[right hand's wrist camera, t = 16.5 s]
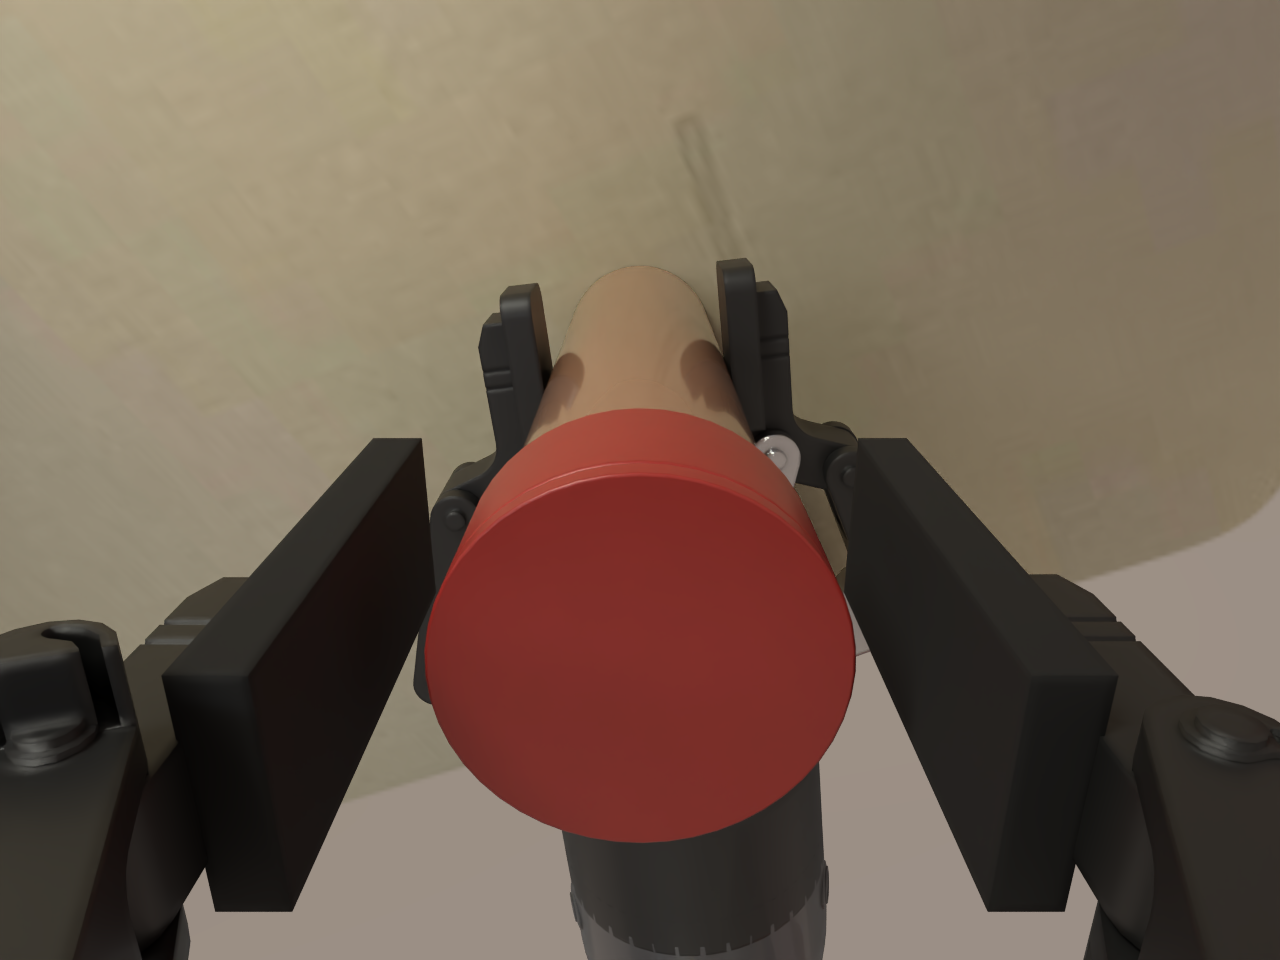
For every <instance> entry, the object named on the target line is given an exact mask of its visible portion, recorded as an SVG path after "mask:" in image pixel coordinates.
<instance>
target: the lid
mask: <svg viewBox="0 0 1280 960" xmlns="http://www.w3.org/2000/svg"><path fill="white" fill-rule="evenodd" d="M855 672H856V644H855V637H854V629H853V623H852V619H851V616H850V613H849V609H848V606H847V603H846V599H845V597H844V595H843V592H842V590H841V588H840V586H839V584H838V581H837V579H836V577H835V574H834V572H833V570H832V568H831V566H830V563H829V561H828V559H827V557H826V554H825V552H824V550H823V548H822V545H821V543H820V541H819V539H818V537H817V534H816V532H815V530H814V528H813V525H812V523H811V521H810V519H809V516H808V514H807V512H806V510H805V508H804V506H803V504H802V502H801V499H800V497H799V495H798V494H797V492H796V491H795V489H794V488H793V486H792V485H791V483H790V482H789V480H788V479H787V477H786V476H785V475H784V474H783V473H782V471H781V470H780V469H779V468H778V467H777V466H776V465H775V464H774V462H773V461H772V460H771V459H770V458H768V457H767V456H766V455H765V454H764V453H763V452H761V451H760V450H759V449H758V448H757V447H755V446H754V445H753V444H752V443H750V442H748V441H747V440H745V439H744V438H742V437H741V436H739V435H737V434H736V433H734V432H733V431H731V430H728V429H726V428H724V427H722V426H720V425H718V424H716V423H713V422H711V421H708V420H705V419H702V418H699V417H696V416H692V415H689V414H685V413H679V412H674V411H669V410H662V409H644V408H635V409H621V410H611V411H606V412H601V413H596V414H591V415H588V416H585V417H582V418H579V419H576V420H573V421H570V422H567V423H565V424H563V425H561V426H559V427H556V428H554V429H552V430H550V431H548V432H546V433H544V434H543V435H541V436H540V437H538V438H537V439H535V440H534V441H532V442H531V443H529V444H528V445H526V446H525V447H524V448H523V449H521V450H520V451H519V452H518V453H517V454H516V455H515V456H513V457H512V458H511V459H510V460H509V461H508V462H507V463H506V464H505V465H504V466H503V468H502V469H501V470H500V471H499V472H498V473H497V475H496V476H495V477H494V478H493V479H492V481H491V482H490V484H489V486H488V487H487V489H486V490H485V492H484V493H483V495H482V496H481V498H480V500H479V503H478V505H477V507H476V509H475V511H474V514H473V516H472V518H471V520H470V523H469V525H468V527H467V529H466V532H465V534H464V536H463V538H462V541H461V543H460V545H459V547H458V550H457V552H456V554H455V556H454V558H453V561H452V563H451V565H450V567H449V570H448V572H447V574H446V576H445V579H444V581H443V583H442V585H441V588H440V590H439V592H438V594H437V597H436V599H435V601H434V604H433V608H432V611H431V615H430V619H429V622H428V626H427V634H426V642H425V675H426V680H427V686H428V691H429V696H430V700H431V703H432V706H433V709H434V712H435V714H436V717H437V720H438V723H439V725H440V727H441V729H442V731H443V733H444V734H445V736H446V738H447V740H448V742H449V744H450V745H451V747H452V748H453V750H454V751H455V753H456V754H457V755H458V757H459V758H460V760H461V761H462V762H463V764H464V765H465V766H466V767H467V768H468V769H469V770H470V771H471V772H472V774H473V775H474V776H475V777H476V778H477V779H478V780H479V781H480V782H481V783H482V784H483V785H485V786H486V787H487V788H488V789H489V790H490V791H492V792H493V793H494V794H495V795H496V796H498V797H499V798H500V799H502V800H503V801H505V802H506V803H508V804H509V805H511V806H512V807H514V808H515V809H517V810H518V811H520V812H522V813H524V814H526V815H528V816H530V817H532V818H534V819H536V820H538V821H540V822H542V823H544V824H547V825H550V826H552V827H555V828H558V829H560V830H563V831H566V832H569V833H573V834H577V835H581V836H585V837H589V838H594V839H601V840H607V841H614V842H631V843H650V842H668V841H674V840H680V839H686V838H692V837H696V836H700V835H704V834H707V833H711V832H715V831H718V830H721V829H723V828H726V827H728V826H731V825H733V824H736V823H739V822H741V821H743V820H745V819H747V818H749V817H751V816H753V815H755V814H756V813H758V812H760V811H762V810H764V809H766V808H767V807H768V806H770V805H771V804H773V803H774V802H776V801H777V800H779V799H780V798H782V797H783V796H785V795H786V794H787V793H788V792H789V791H790V790H791V789H793V788H794V787H795V786H796V785H797V784H798V783H799V782H801V781H802V780H803V779H804V778H805V777H806V775H807V774H808V773H809V772H810V771H811V770H812V769H813V768H814V766H815V765H816V764H817V763H818V762H819V761H820V759H821V758H822V756H823V755H824V753H825V752H826V751H827V749H828V748H829V746H830V745H831V743H832V742H833V740H834V738H835V736H836V734H837V732H838V730H839V728H840V726H841V724H842V722H843V720H844V717H845V714H846V711H847V707H848V704H849V701H850V698H851V695H852V690H853V684H854V678H855Z"/></svg>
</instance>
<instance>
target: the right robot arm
mask: <svg viewBox="0 0 1280 960" xmlns="http://www.w3.org/2000/svg"><path fill="white" fill-rule="evenodd" d="M435 594H436V586H435V575H434V564H433V554H432V543H431V533H430V522H429V511H428V501H427V490H426V479H425V469H424V458H423V447H422V438H373V439H372V440H371V442H370V443H369V444H368V445H367V446H366V447H365V448H364V449H363V450H362V452H361V453H360V454H359V455H358V456H357V457H356V458H355V459H354V461H353V462H352V463H351V464H350V465H349V466H348V467H347V468H346V469H345V471H344V472H343V473H342V474H341V475H340V476H339V477H338V478H337V480H336V481H335V482H334V483H333V484H332V485H331V486H330V487H329V488H328V490H327V491H326V492H325V493H324V494H323V495H322V496H321V497H320V499H319V500H318V501H317V502H316V503H315V504H314V505H313V506H312V507H311V509H310V510H309V511H308V512H307V513H306V514H305V515H304V516H303V518H302V519H301V520H300V521H299V522H298V523H297V524H296V525H295V526H294V528H293V529H292V530H291V531H290V532H289V533H288V534H287V535H286V537H285V538H284V539H283V540H282V541H281V542H280V543H279V544H278V545H277V547H276V548H275V549H274V550H273V551H272V552H271V553H270V554H269V556H268V557H267V558H266V559H265V560H264V561H263V562H262V563H261V564H260V566H259V567H258V568H257V569H256V570H255V571H254V572H253V573H252V575H251V576H250V577H223V578H221V579H219V580H218V581H216V582H214V583H212V584H210V585H209V586H207V587H205V588H203V589H201V590H199V591H198V592H196V593H194V594H192V595H190V596H189V597H187V598H186V599H185V600H184V601H183V602H182V603H181V604H180V605H179V606H178V607H177V608H176V609H175V610H174V611H173V612H172V613H171V614H170V615H169V616H168V617H167V618H166V619H165V620H164V622H165V623H164V625H159V626H158V627H157V628H156V629H155V630H154V631H153V632H152V633H151V634H150V635H149V636H148V637H147V638H146V639H145V645H139V646H138V647H137V648H136V649H135V650H134V651H133V652H132V654H131V655H130V656H129V657H128V658H127V659H126V660H125V661H124V662H123V659H122V654H121V650H120V646H119V642H118V638H117V634H116V632H115V631H114V630H112V629H111V628H109V627H108V626H106V625H105V624H103V623H98V622H92V621H85V620H67V621H53V622H46V623H41V624H37V625H32V626H28V627H23V628H19V629H14V630H12V631H9V632H6V633H4V634H1V635H0V960H188V956H189V948H190V936H189V929H188V923H187V919H186V915H185V911H184V907H183V903H184V901H185V899H186V898H187V896H188V895H189V893H190V891H191V890H192V888H193V886H194V885H195V883H196V881H197V880H198V878H199V876H200V875H201V873H202V871H203V870H204V868H205V869H206V873H207V878H208V882H209V886H210V891H211V895H212V899H213V904H214V908H215V912H292V911H293V909H294V907H295V904H296V902H297V900H298V898H299V895H300V893H301V891H302V889H303V887H304V884H305V882H306V880H307V878H308V876H309V873H310V871H311V869H312V867H313V864H314V862H315V860H316V858H317V856H318V853H319V851H320V849H321V847H322V845H323V842H324V840H325V838H326V836H327V833H328V831H329V829H330V827H331V825H332V822H333V820H334V818H335V816H336V813H337V811H338V809H339V807H340V805H341V802H342V800H343V798H344V796H345V793H346V791H347V789H348V787H349V785H350V782H351V780H352V778H353V776H354V774H355V771H356V769H357V767H358V765H359V762H360V760H361V758H362V756H363V754H364V751H365V749H366V747H367V745H368V742H369V740H370V738H371V736H372V734H373V731H374V729H375V727H376V725H377V723H378V720H379V718H380V716H381V714H382V711H383V709H384V707H385V705H386V703H387V700H388V698H389V696H390V694H391V691H392V689H393V687H394V685H395V683H396V680H397V678H398V676H399V674H400V671H401V669H402V667H403V665H404V663H405V660H406V658H407V656H408V654H409V652H410V649H411V647H412V645H413V643H414V640H415V638H416V636H417V634H418V632H419V629H420V627H421V625H422V623H423V620H424V618H425V616H426V614H427V612H428V609H429V607H430V605H431V603H432V601H433V598H434V596H435ZM844 594H845V596H846V598H847V601H848V603H849V605H850V607H851V609H852V612H853V614H854V616H855V618H856V621H857V623H858V625H859V627H860V629H861V632H862V634H863V636H864V638H865V640H866V643H867V645H868V647H869V649H870V652H871V654H872V656H873V658H874V660H875V663H876V665H877V667H878V669H879V672H880V674H881V676H882V678H883V680H884V683H885V685H886V687H887V689H888V691H889V694H890V696H891V698H892V700H893V703H894V705H895V707H896V709H897V711H898V714H899V716H900V718H901V720H902V723H903V725H904V727H905V729H906V731H907V733H908V736H909V738H910V740H911V742H912V745H913V747H914V749H915V751H916V754H917V756H918V758H919V760H920V762H921V765H922V767H923V769H924V771H925V774H926V776H927V778H928V780H929V782H930V785H931V787H932V789H933V791H934V794H935V796H936V798H937V800H938V802H939V805H940V807H941V809H942V811H943V813H944V816H945V818H946V820H947V822H948V824H949V827H950V829H951V831H952V833H953V836H954V838H955V840H956V842H957V844H958V847H959V849H960V851H961V853H962V856H963V858H964V860H965V862H966V864H967V867H968V869H969V871H970V873H971V876H972V878H973V880H974V882H975V884H976V887H977V889H978V891H979V893H980V895H981V898H982V900H983V902H984V904H985V907H986V909H987V911H988V912H1064V911H1065V908H1066V903H1067V899H1068V895H1069V891H1070V886H1071V882H1072V878H1073V873H1074V869H1075V864H1076V865H1077V867H1078V868H1079V870H1080V872H1081V873H1082V875H1083V877H1084V878H1085V880H1086V882H1087V883H1088V885H1089V887H1090V888H1091V890H1092V892H1093V893H1094V895H1095V897H1096V898H1097V900H1098V903H1097V907H1096V911H1095V915H1094V919H1093V923H1092V927H1091V931H1090V935H1089V939H1088V943H1087V947H1086V951H1085V956H1084V960H1280V723H1279V722H1278V721H1276V720H1275V719H1272V718H1270V717H1268V716H1266V715H1263V714H1261V713H1259V712H1256V711H1254V710H1252V709H1250V708H1247V707H1245V706H1242V705H1239V704H1235V703H1231V702H1227V701H1223V700H1220V699H1216V698H1212V697H1202V696H1195V695H1194V694H1193V693H1191V691H1189V689H1188V688H1187V687H1186V686H1185V685H1184V684H1183V683H1182V682H1181V681H1180V680H1179V679H1178V678H1177V677H1176V676H1175V675H1174V674H1173V673H1172V672H1171V671H1170V670H1169V669H1168V668H1167V667H1166V666H1165V665H1164V664H1163V663H1162V662H1161V661H1160V660H1159V659H1158V658H1157V657H1156V656H1155V655H1154V654H1153V653H1152V652H1151V651H1150V650H1149V649H1148V648H1147V647H1146V646H1145V645H1144V644H1143V643H1142V642H1141V641H1136V640H1135V635H1134V634H1133V633H1132V632H1131V631H1130V630H1129V629H1128V628H1127V627H1126V626H1125V625H1124V624H1123V623H1122V622H1117V621H1116V616H1115V615H1114V614H1113V613H1112V612H1111V611H1110V610H1109V609H1108V608H1107V607H1106V606H1105V605H1104V604H1103V603H1102V602H1101V601H1100V600H1099V599H1098V598H1097V597H1096V596H1095V595H1094V594H1092V593H1090V592H1088V591H1087V590H1085V589H1083V588H1081V587H1079V586H1077V585H1076V584H1074V583H1072V582H1070V581H1068V580H1066V579H1065V578H1063V577H1061V576H1059V575H1057V574H1028V573H1027V572H1026V571H1025V570H1024V569H1023V568H1022V567H1021V566H1020V565H1019V563H1018V562H1017V561H1016V560H1015V559H1014V558H1013V557H1012V556H1011V554H1010V553H1009V552H1008V551H1007V550H1006V549H1005V548H1004V547H1003V546H1002V544H1001V543H1000V542H999V541H998V540H997V539H996V538H995V537H994V535H993V534H992V533H991V532H990V531H989V530H988V529H987V528H986V527H985V525H984V524H983V523H982V522H981V521H980V520H979V519H978V518H977V516H976V515H975V514H974V513H973V512H972V511H971V510H970V509H969V508H968V506H967V505H966V504H965V503H964V502H963V501H962V500H961V499H960V497H959V496H958V495H957V494H956V493H955V492H954V491H953V490H952V489H951V487H950V486H949V485H948V484H947V483H946V482H945V481H944V480H943V478H942V477H941V476H940V475H939V474H938V473H937V472H936V471H935V470H934V468H933V467H932V466H931V465H930V464H929V463H928V462H927V461H926V459H925V458H924V457H923V456H922V455H921V454H920V453H919V452H918V450H917V449H916V448H915V447H914V446H913V445H912V444H911V443H910V442H909V440H908V439H907V438H858V447H857V458H856V468H855V479H854V490H853V500H852V511H851V522H850V532H849V543H848V554H847V564H846V575H845V586H844Z"/></svg>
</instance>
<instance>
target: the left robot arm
mask: <svg viewBox="0 0 1280 960" xmlns="http://www.w3.org/2000/svg"><path fill="white" fill-rule="evenodd" d="M716 268H717V284H718V296H719V309H720V321H721V333H722V346H723V358H724V362H725V364H726V367H727V369H728V372H729V375H730V377H731V380H732V382H733V385H734V388H735V390H736V393H737V396H738V398H739V401H740V403H741V406H742V409H743V411H744V414H745V417H746V419H747V422H748V424H749V427H750V430H751V432H752V435H753V437H754V440H755V443H756V445H757V448H758V449H759V450H760V451H761V452H763V453H764V454H765V455H766V456H767V457H768V458H770V459H771V460H772V461H773V462H774V464H775V465H776V466H777V467H778V468H779V469H780V470H781V471H782V473H783V474H784V475H785V476H786V477H787V479H788V480H789V482H790V483H791V485H792V486H793V488H794V484H795V483H799V484H803V485H808V486H812V487H817V488H821V489H824V491H825V494H826V496H827V499H828V502H829V504H830V507H831V509H832V512H833V515H834V517H835V520H836V522H837V525H838V528H839V530H840V533H841V536H842V538H843V541H844V543H845V546H846V549H847V551H848V543H849V532H850V522H851V511H852V500H853V490H854V479H855V468H856V458H857V447H858V441H857V439H856V437H855V435H854V434H853V432H852V431H851V430H850V428H849V427H847V426H846V425H845V424H843V423H840V422H835V421H831V422H826V423H823V424H818V423H814V422H810V421H806V420H803V419H800V418H798V417H796V416H795V415H794V414H793V410H792V392H791V373H790V356H789V339H788V317H787V310H786V308H785V306H784V304H783V302H782V300H781V297H780V295H779V293H778V291H777V290H776V288H775V287H774V286H773V285H772V284H771V283H770V282H769V281H762V282H756V280H755V273H754V268H753V265H752V264H751V263H750V262H749V261H748V260H747V258H741V259H732V260H723V261H717V264H716ZM478 349H479V354H480V359H481V365H482V370H483V376H484V381H485V387H486V390H487V391H486V392H487V397H488V403H489V408H490V414H491V419H492V425H493V430H494V435H495V441H496V451H495V452H494V453H493V454H491V455H490V456H488V457H486V458H484V459H482V460H479V461H477V462H467V463H463V464H461V465H460V466H458V467H457V468H456V469H455V470H454V472H453V473H452V475H451V477H450V479H449V480H448V482H447V484H446V486H445V487H444V489H443V491H442V493H441V495H440V496H439V498H438V500H437V502H436V503H435V505H434V507H433V509H432V511H431V517H430V533H431V543H432V554H433V564H434V575H435V586H436V594H435V596H434V598H433V601H432V603H431V605H430V607H429V609H428V612H427V614H426V616H425V618H424V620H423V623H422V625H421V627H420V629H419V633H418V643H417V652H416V662H415V672H414V682H413V686H414V690H415V692H416V694H417V695H418V696H419V698H421V699H422V700H423V701H425V702H427V703H429V704H432V703H431V700H430V696H429V691H428V686H427V680H426V675H425V642H426V634H427V626H428V622H429V619H430V615H431V611H432V608H433V604H434V601H435V599H436V597H437V594H438V592H439V590H440V588H441V585H442V583H443V581H444V579H445V576H446V574H447V572H448V570H449V567H450V565H451V563H452V561H453V558H454V556H455V554H456V552H457V550H458V547H459V545H460V543H461V541H462V538H463V536H464V534H465V532H466V529H467V527H468V525H469V523H470V520H471V518H472V516H473V514H474V511H475V509H476V507H477V505H478V503H479V500H480V498H481V496H482V495H483V493H484V492H485V490H486V489H487V487H488V486H489V484H490V482H491V481H492V479H493V478H494V477H495V476H496V475H497V473H498V472H499V471H500V470H501V469H502V468H503V466H504V465H505V464H506V463H507V462H508V461H509V460H510V459H511V458H512V457H513V456H515V455H516V454H517V453H518V452H519V451H520V450H521V449H523V447H524V444H525V441H526V439H527V436H528V433H529V431H530V428H531V426H532V423H533V420H534V418H535V415H536V412H537V410H538V407H539V405H540V402H541V399H542V397H543V394H544V391H545V389H546V386H547V384H548V381H549V378H550V376H551V373H552V370H553V367H552V360H551V354H550V347H549V341H548V334H547V328H546V322H545V315H544V309H543V302H542V296H541V291H540V288H539V285H538V283H533V284H525V285H516V286H509V287H508V288H507V289H506V290H505V291H504V292H503V293H502V294H501V296H500V313H493V314H492V315H491V316H490V317H489V318H488V320H487V321H486V322H485V323H484V324H483V327H482V332H481V337H480V342H479V347H478ZM845 575H846V567H845V568H844V569H842V570H841V572H840V573H839V574H838V575H837V576H836V579H837V581H838V584H839V586H840V588H841V590H842V592H843V595H844V597H845V599H846V603H847V606H848V609H849V613H850V616H851V619H852V623H853V629H854V637H855V644H856V656H858V655H861V654H864V653H867V652H870V649H869V647H868V645H867V643H866V640H865V638H864V636H863V634H862V632H861V629H860V627H859V625H858V623H857V621H856V618H855V616H854V614H853V612H852V609H851V607H850V605H849V603H848V601H847V598H846V596H845V594H844V586H845ZM562 833H563V839H564V844H565V849H566V855H567V860H568V866H569V871H570V876H571V882H572V883H571V892H570V897H571V903H572V908H573V912H574V916H575V920H576V922H578V925H579V927H580V930H581V935H582V940H583V944H584V948H585V952H586V955H587V958H588V960H822V958H823V952H824V945H825V936H826V904H827V903H828V894H829V872H828V866H826V862H825V860H824V850H823V832H822V812H821V792H820V773H819V762H818V763H817V764H816V765H815V766H814V768H813V769H812V770H811V771H810V772H809V773H808V774H807V775H806V777H805V778H804V779H803V780H802V781H801V782H799V783H798V784H797V785H796V786H795V787H794V788H793V789H791V790H790V791H789V792H788V793H787V794H786V795H785V796H783V797H782V798H780V799H779V800H777V801H776V802H774V803H773V804H771V805H770V806H768V807H767V808H766V809H764V810H762V811H760V812H758V813H756V814H755V815H753V816H751V817H749V818H747V819H745V820H743V821H741V822H739V823H736V824H733V825H731V826H728V827H726V828H723V829H721V830H718V831H715V832H711V833H707V834H704V835H700V836H696V837H692V838H686V839H680V840H674V841H668V842H650V843H631V842H614V841H607V840H601V839H594V838H589V837H585V836H581V835H577V834H573V833H569V832H566V831H563V830H562Z"/></svg>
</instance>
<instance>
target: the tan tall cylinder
mask: <svg viewBox="0 0 1280 960" xmlns="http://www.w3.org/2000/svg"><path fill="white" fill-rule="evenodd" d="M635 408H644V409H662V410H669V411H674V412H679V413H685V414H689V415H692V416H696V417H699V418H702V419H705V420H708V421H711V422H713V423H716V424H718V425H720V426H722V427H724V428H726V429H728V430H731V431H733V432H734V433H736V434H737V435H739V436H741V437H742V438H744V439H745V440H747V441H748V442H750V443H752V444H753V445H754V446H755V447H757V445H756V443H755V440H754V437H753V435H752V432H751V430H750V427H749V424H748V422H747V419H746V417H745V414H744V411H743V409H742V406H741V403H740V401H739V398H738V396H737V393H736V390H735V388H734V385H733V382H732V380H731V377H730V375H729V372H728V369H727V367H726V364H725V362H724V359H723V356H722V354H721V351H720V348H719V346H718V343H717V341H716V338H715V335H714V333H713V330H712V327H711V325H710V322H709V320H708V317H707V314H706V312H705V309H704V307H703V305H702V303H701V301H700V299H699V298H698V296H697V295H696V293H695V292H694V291H693V290H692V288H691V287H689V286H688V285H687V284H686V283H685V282H684V281H683V280H681V279H680V278H679V277H677V276H675V275H674V274H672V273H670V272H668V271H665V270H662V269H659V268H655V267H649V266H631V267H625V268H621V269H618V270H615V271H613V272H611V273H609V274H607V275H605V276H603V277H602V278H600V279H599V280H597V281H596V282H595V283H594V284H593V285H592V286H591V287H590V288H589V289H588V290H587V291H586V292H585V294H584V295H583V297H582V298H581V300H580V302H579V304H578V306H577V308H576V310H575V313H574V315H573V318H572V320H571V323H570V326H569V328H568V331H567V334H566V336H565V339H564V341H563V344H562V347H561V349H560V352H559V355H558V357H557V360H556V363H555V365H554V368H553V370H552V373H551V376H550V378H549V381H548V384H547V386H546V389H545V391H544V394H543V397H542V399H541V402H540V405H539V407H538V410H537V412H536V415H535V418H534V420H533V423H532V426H531V428H530V431H529V433H528V436H527V439H526V441H525V444H524V447H525V446H526V445H528V444H529V443H531V442H532V441H534V440H535V439H537V438H538V437H540V436H541V435H543V434H544V433H546V432H548V431H550V430H552V429H554V428H556V427H559V426H561V425H563V424H565V423H567V422H570V421H573V420H576V419H579V418H582V417H585V416H588V415H591V414H596V413H601V412H606V411H611V410H621V409H635ZM524 447H523V448H524Z"/></svg>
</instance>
